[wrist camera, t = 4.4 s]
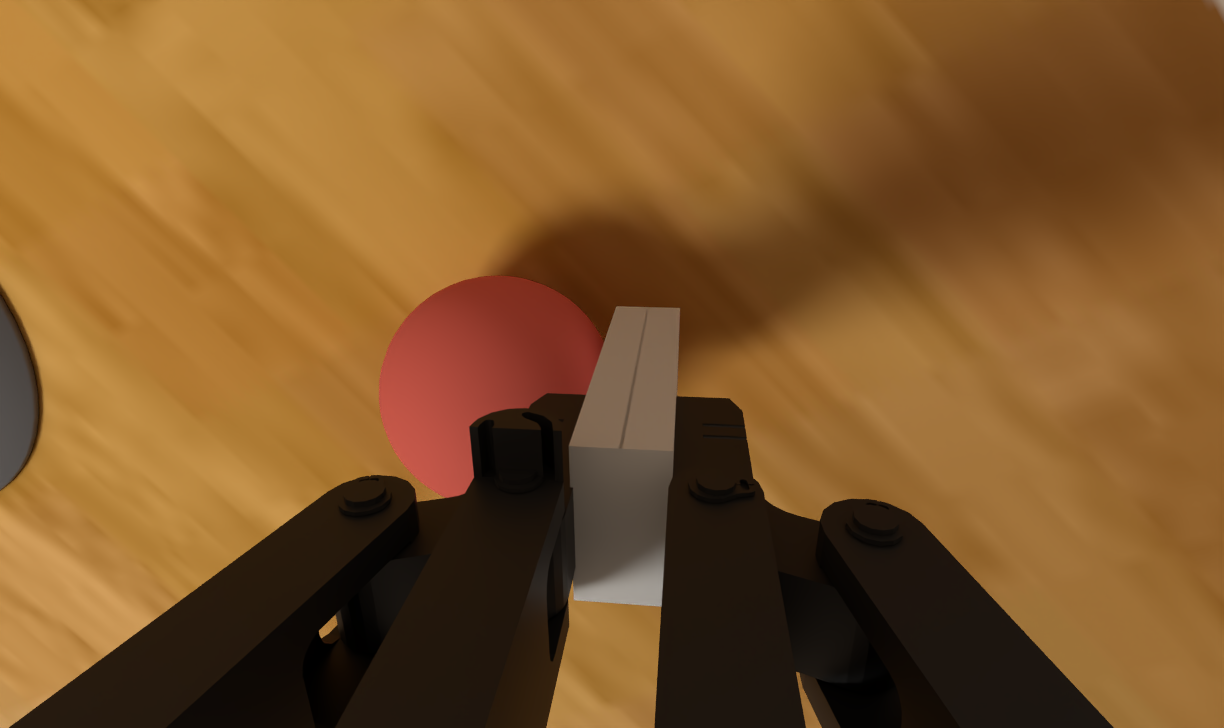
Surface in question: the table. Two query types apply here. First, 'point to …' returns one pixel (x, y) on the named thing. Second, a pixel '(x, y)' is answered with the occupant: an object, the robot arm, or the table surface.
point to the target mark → (15, 399)
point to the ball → (477, 368)
